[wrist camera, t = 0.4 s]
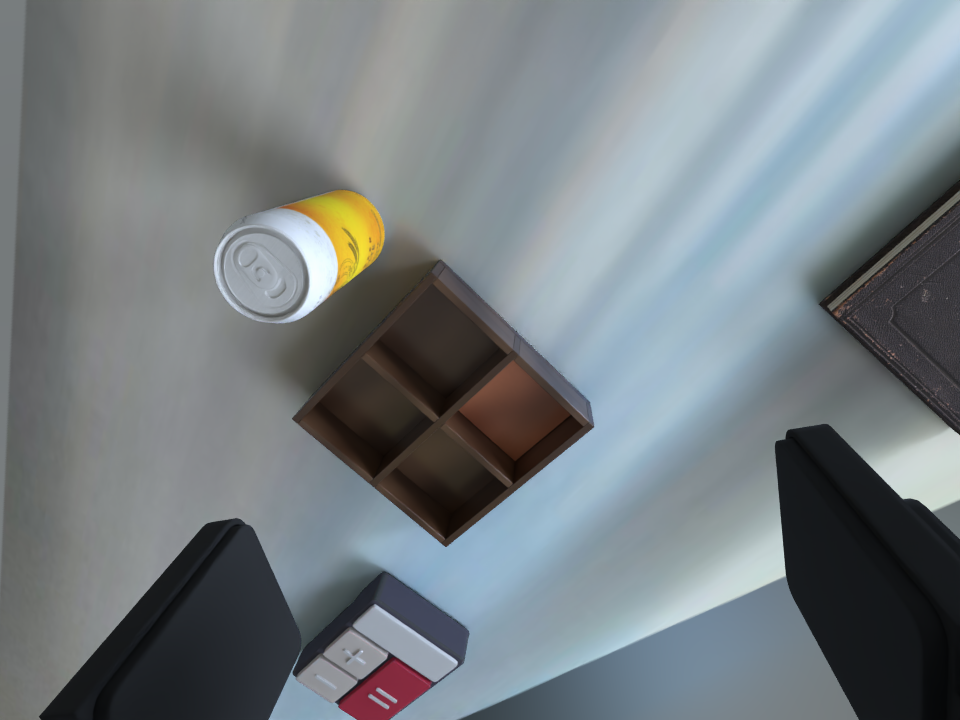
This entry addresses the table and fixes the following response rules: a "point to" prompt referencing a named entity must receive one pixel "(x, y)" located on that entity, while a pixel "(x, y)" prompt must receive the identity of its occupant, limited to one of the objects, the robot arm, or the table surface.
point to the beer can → (296, 254)
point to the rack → (446, 408)
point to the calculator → (382, 652)
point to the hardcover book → (912, 306)
